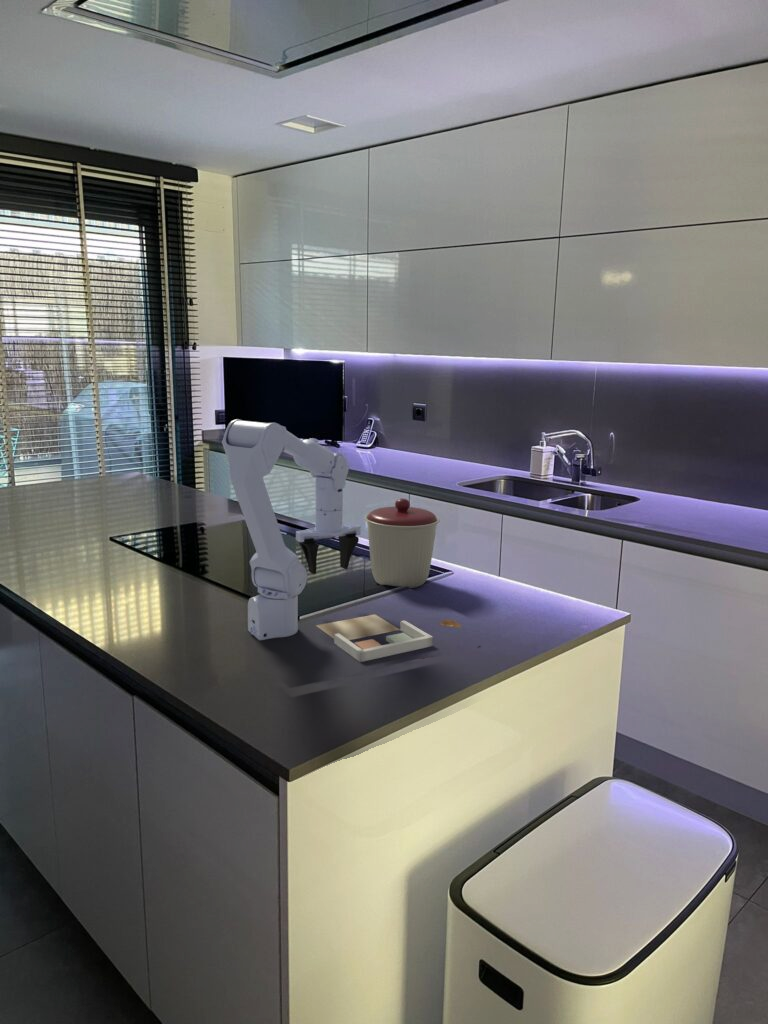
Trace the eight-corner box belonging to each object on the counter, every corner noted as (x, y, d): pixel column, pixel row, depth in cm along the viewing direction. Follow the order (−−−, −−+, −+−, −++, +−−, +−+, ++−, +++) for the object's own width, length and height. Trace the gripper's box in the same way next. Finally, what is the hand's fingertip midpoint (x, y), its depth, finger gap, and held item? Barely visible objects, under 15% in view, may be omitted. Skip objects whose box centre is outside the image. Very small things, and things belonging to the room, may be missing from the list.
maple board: (338, 647, 149) (338, 642, 149) (315, 631, 158) (315, 625, 157) (400, 635, 156) (400, 629, 156) (374, 619, 165) (374, 614, 165)
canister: (443, 576, 196) (447, 494, 192) (428, 598, 179) (431, 509, 175) (375, 569, 201) (376, 489, 196) (353, 590, 184) (355, 503, 179)
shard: (439, 614, 170) (440, 607, 170) (474, 619, 168) (474, 611, 168) (429, 632, 160) (430, 623, 160) (466, 636, 158) (467, 628, 158)
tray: (359, 668, 140) (360, 652, 140) (334, 648, 149) (334, 634, 148) (432, 651, 149) (433, 636, 148) (404, 634, 157) (404, 620, 156)
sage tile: (396, 650, 147) (397, 643, 147) (386, 643, 151) (386, 636, 150) (414, 646, 149) (414, 639, 149) (403, 639, 153) (403, 632, 152)
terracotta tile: (364, 657, 144) (364, 650, 143) (354, 650, 147) (354, 642, 147) (383, 653, 146) (383, 646, 145) (372, 646, 149) (372, 639, 149)
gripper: (306, 515, 157) (306, 579, 160) (368, 509, 164) (366, 570, 167) (291, 508, 163) (291, 570, 166) (352, 502, 170) (351, 562, 173)
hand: (328, 570), depth 167 cm, fingers open, 7 cm apart
